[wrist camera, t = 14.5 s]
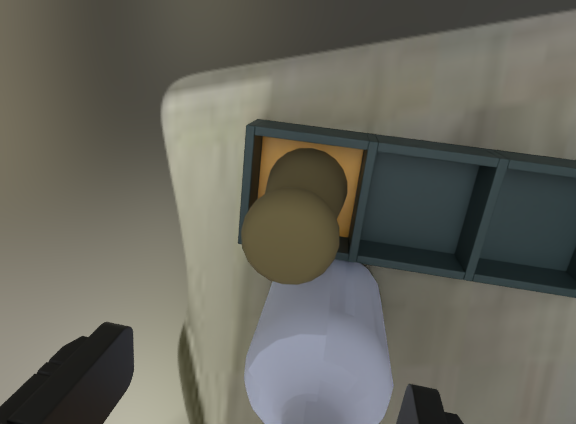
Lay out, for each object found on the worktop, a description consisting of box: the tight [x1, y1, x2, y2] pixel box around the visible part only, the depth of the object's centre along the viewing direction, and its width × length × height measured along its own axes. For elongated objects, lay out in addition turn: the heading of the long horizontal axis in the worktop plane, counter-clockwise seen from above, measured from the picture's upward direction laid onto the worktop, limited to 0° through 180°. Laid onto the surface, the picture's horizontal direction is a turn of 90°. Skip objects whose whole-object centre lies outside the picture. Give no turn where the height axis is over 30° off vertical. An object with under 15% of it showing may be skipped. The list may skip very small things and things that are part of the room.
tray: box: [238, 119, 576, 298], centre depth 28 cm, size 25×9×3 cm, turn 84°
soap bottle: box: [244, 259, 394, 424], centre depth 22 cm, size 9×9×25 cm
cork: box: [241, 148, 347, 285], centre depth 25 cm, size 6×6×11 cm
